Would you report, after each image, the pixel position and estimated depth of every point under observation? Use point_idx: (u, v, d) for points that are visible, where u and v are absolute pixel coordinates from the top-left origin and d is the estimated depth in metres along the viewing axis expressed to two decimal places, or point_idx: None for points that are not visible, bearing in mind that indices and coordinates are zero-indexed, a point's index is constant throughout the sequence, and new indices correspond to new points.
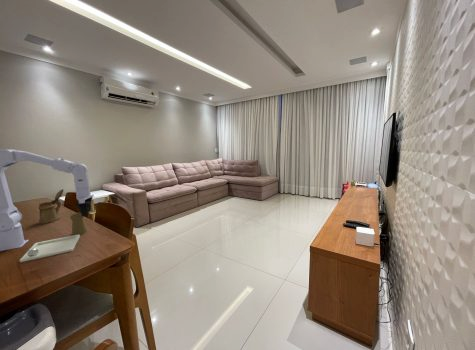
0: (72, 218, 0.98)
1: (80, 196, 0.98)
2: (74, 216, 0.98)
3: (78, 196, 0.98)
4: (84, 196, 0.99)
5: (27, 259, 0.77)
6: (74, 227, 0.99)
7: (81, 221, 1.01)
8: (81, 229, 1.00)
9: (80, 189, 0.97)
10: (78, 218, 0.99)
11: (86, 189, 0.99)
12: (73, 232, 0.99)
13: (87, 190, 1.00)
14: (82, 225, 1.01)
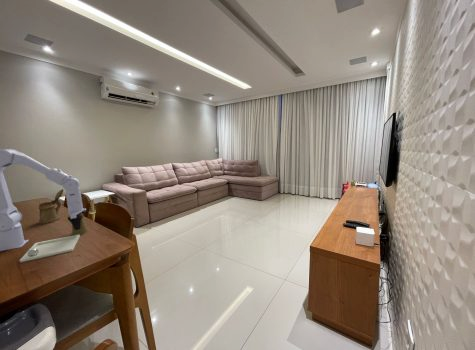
0: None
1: (72, 210, 0.97)
2: None
3: (70, 210, 0.97)
4: (76, 210, 0.98)
5: (27, 259, 0.77)
6: None
7: (81, 221, 1.01)
8: (81, 229, 1.00)
9: (72, 203, 0.97)
10: None
11: (78, 203, 0.98)
12: (73, 232, 0.99)
13: (79, 204, 0.99)
14: (82, 225, 1.01)
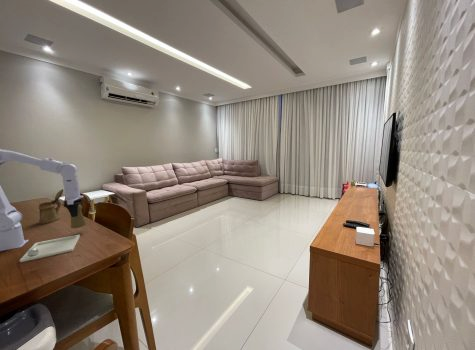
0: None
1: (69, 197, 0.96)
2: None
3: (67, 197, 0.96)
4: (73, 197, 0.96)
5: (27, 259, 0.77)
6: (72, 219, 0.98)
7: (79, 213, 0.99)
8: (80, 221, 0.99)
9: (69, 190, 0.95)
10: None
11: (75, 190, 0.97)
12: (72, 224, 0.98)
13: (77, 191, 0.97)
14: (80, 217, 1.00)
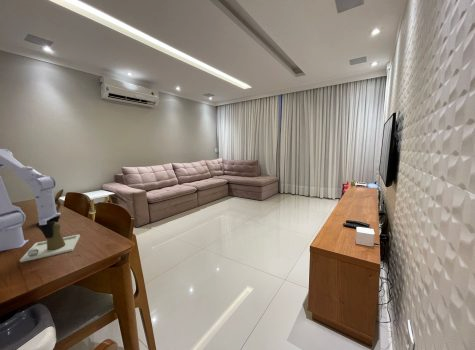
0: None
1: (42, 216, 0.82)
2: None
3: (40, 216, 0.82)
4: (47, 215, 0.83)
5: (27, 259, 0.77)
6: (49, 239, 0.85)
7: (57, 232, 0.86)
8: (58, 242, 0.86)
9: (42, 207, 0.82)
10: (53, 229, 0.85)
11: (50, 207, 0.83)
12: (48, 245, 0.85)
13: (52, 208, 0.84)
14: (59, 237, 0.87)
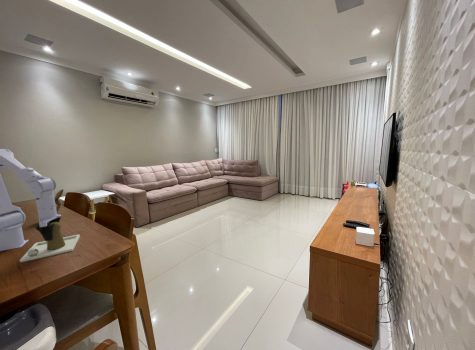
0: None
1: (43, 217, 0.82)
2: None
3: (40, 217, 0.82)
4: (48, 217, 0.83)
5: (27, 259, 0.77)
6: None
7: (58, 232, 0.86)
8: (58, 242, 0.86)
9: (42, 209, 0.82)
10: (54, 229, 0.85)
11: (50, 209, 0.83)
12: (48, 245, 0.85)
13: (52, 210, 0.84)
14: (59, 237, 0.87)
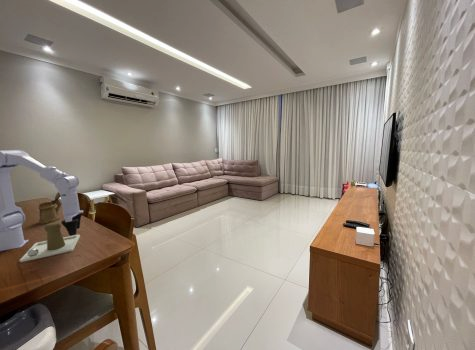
0: (46, 229, 0.84)
1: (67, 213, 0.86)
2: (49, 227, 0.84)
3: (65, 213, 0.86)
4: (72, 213, 0.87)
5: (27, 259, 0.77)
6: (49, 239, 0.85)
7: (58, 232, 0.86)
8: (58, 242, 0.86)
9: (67, 205, 0.85)
10: (54, 229, 0.85)
11: (74, 205, 0.87)
12: (48, 245, 0.85)
13: (76, 206, 0.88)
14: (59, 237, 0.87)
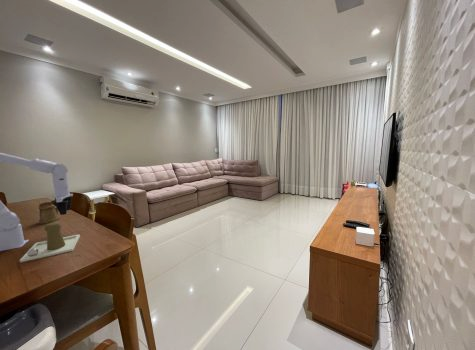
0: (46, 229, 0.84)
1: (58, 195, 1.00)
2: (49, 227, 0.84)
3: (56, 195, 1.00)
4: (62, 195, 1.01)
5: (27, 259, 0.77)
6: (49, 239, 0.85)
7: (58, 232, 0.86)
8: (58, 242, 0.86)
9: (58, 188, 0.99)
10: (54, 229, 0.85)
11: (64, 188, 1.01)
12: (48, 245, 0.85)
13: (66, 189, 1.02)
14: (59, 237, 0.87)
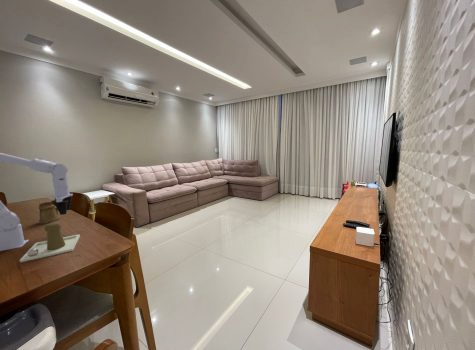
0: (46, 229, 0.84)
1: (58, 195, 1.00)
2: (49, 227, 0.84)
3: (56, 195, 1.00)
4: (62, 195, 1.01)
5: (27, 259, 0.77)
6: (49, 239, 0.85)
7: (58, 232, 0.86)
8: (58, 242, 0.86)
9: (58, 188, 1.00)
10: (54, 229, 0.85)
11: (64, 188, 1.01)
12: (48, 245, 0.85)
13: (66, 189, 1.02)
14: (59, 237, 0.87)
